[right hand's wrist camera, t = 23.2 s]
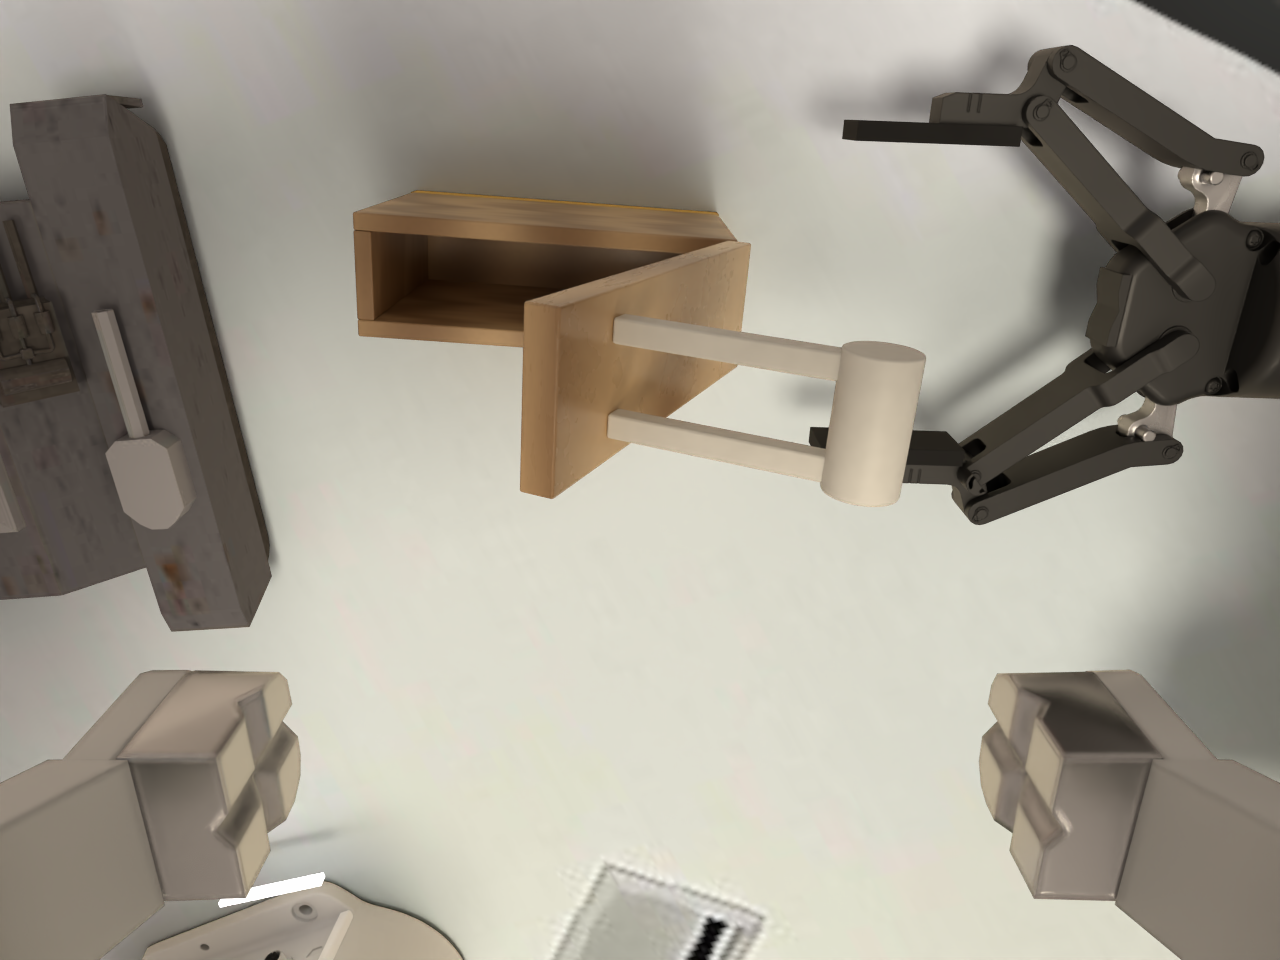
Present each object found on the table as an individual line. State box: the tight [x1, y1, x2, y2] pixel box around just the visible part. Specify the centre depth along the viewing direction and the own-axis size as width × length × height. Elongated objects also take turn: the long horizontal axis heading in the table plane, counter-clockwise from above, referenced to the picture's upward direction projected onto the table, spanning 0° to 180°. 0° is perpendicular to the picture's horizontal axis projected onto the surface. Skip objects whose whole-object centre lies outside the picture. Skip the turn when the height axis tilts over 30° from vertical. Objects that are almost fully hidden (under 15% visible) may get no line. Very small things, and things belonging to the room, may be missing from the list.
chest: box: [353, 190, 737, 347], centre depth 40 cm, size 15×5×10 cm, turn 86°
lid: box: [520, 241, 926, 507], centre depth 27 cm, size 15×5×9 cm
